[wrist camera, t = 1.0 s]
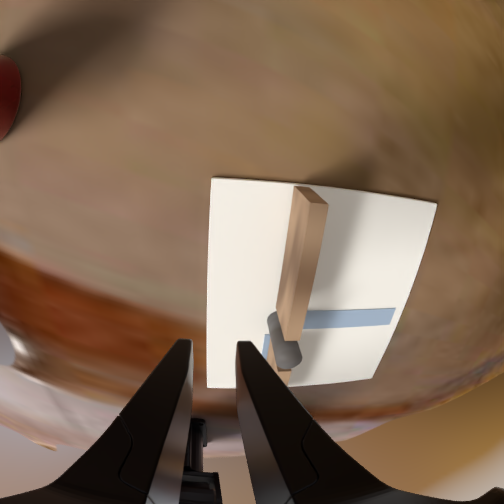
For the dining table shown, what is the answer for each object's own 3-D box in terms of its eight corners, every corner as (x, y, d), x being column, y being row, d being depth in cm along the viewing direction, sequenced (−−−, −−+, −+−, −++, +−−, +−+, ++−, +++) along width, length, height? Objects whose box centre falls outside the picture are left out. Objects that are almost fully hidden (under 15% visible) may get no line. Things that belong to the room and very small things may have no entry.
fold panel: (288, 307, 22) (299, 340, 19) (275, 307, 22) (284, 340, 18) (309, 187, 18) (329, 204, 15) (293, 185, 18) (310, 202, 15)
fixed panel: (273, 384, 27) (281, 424, 23) (255, 384, 27) (261, 425, 22) (290, 307, 23) (304, 350, 19) (267, 307, 23) (277, 351, 18)
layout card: (370, 375, 28) (371, 378, 28) (207, 384, 26) (207, 388, 26) (434, 202, 20) (437, 204, 20) (211, 177, 18) (211, 178, 18)
